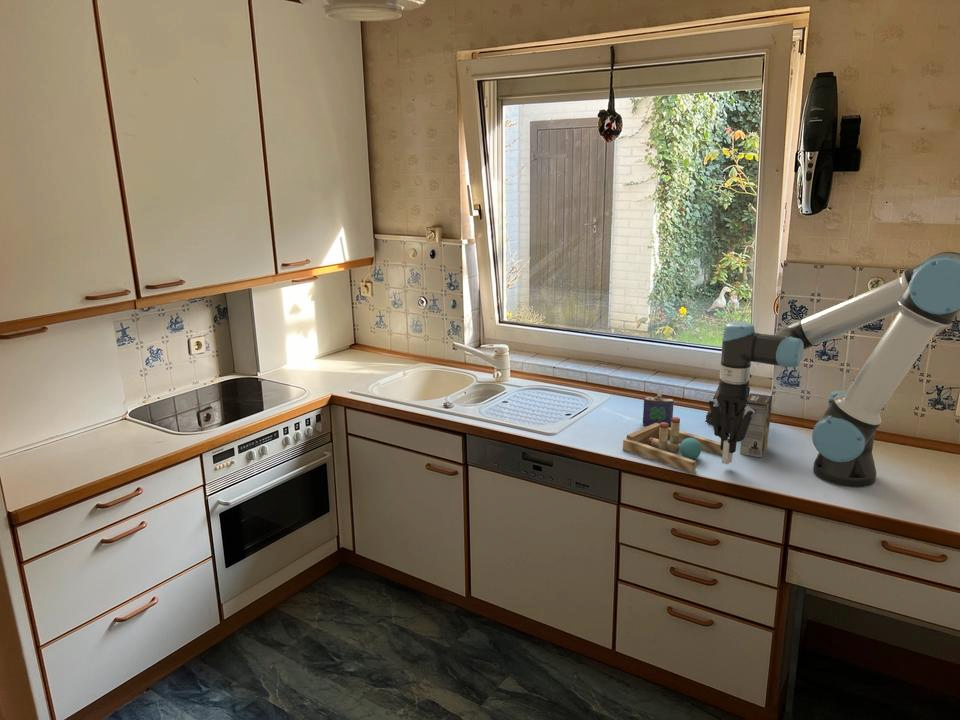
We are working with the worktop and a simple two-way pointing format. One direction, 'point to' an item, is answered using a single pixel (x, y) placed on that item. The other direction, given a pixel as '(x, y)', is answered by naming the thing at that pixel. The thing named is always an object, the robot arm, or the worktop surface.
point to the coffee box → (757, 426)
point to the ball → (690, 448)
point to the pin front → (670, 446)
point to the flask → (657, 410)
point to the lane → (640, 437)
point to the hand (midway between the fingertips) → (726, 462)
